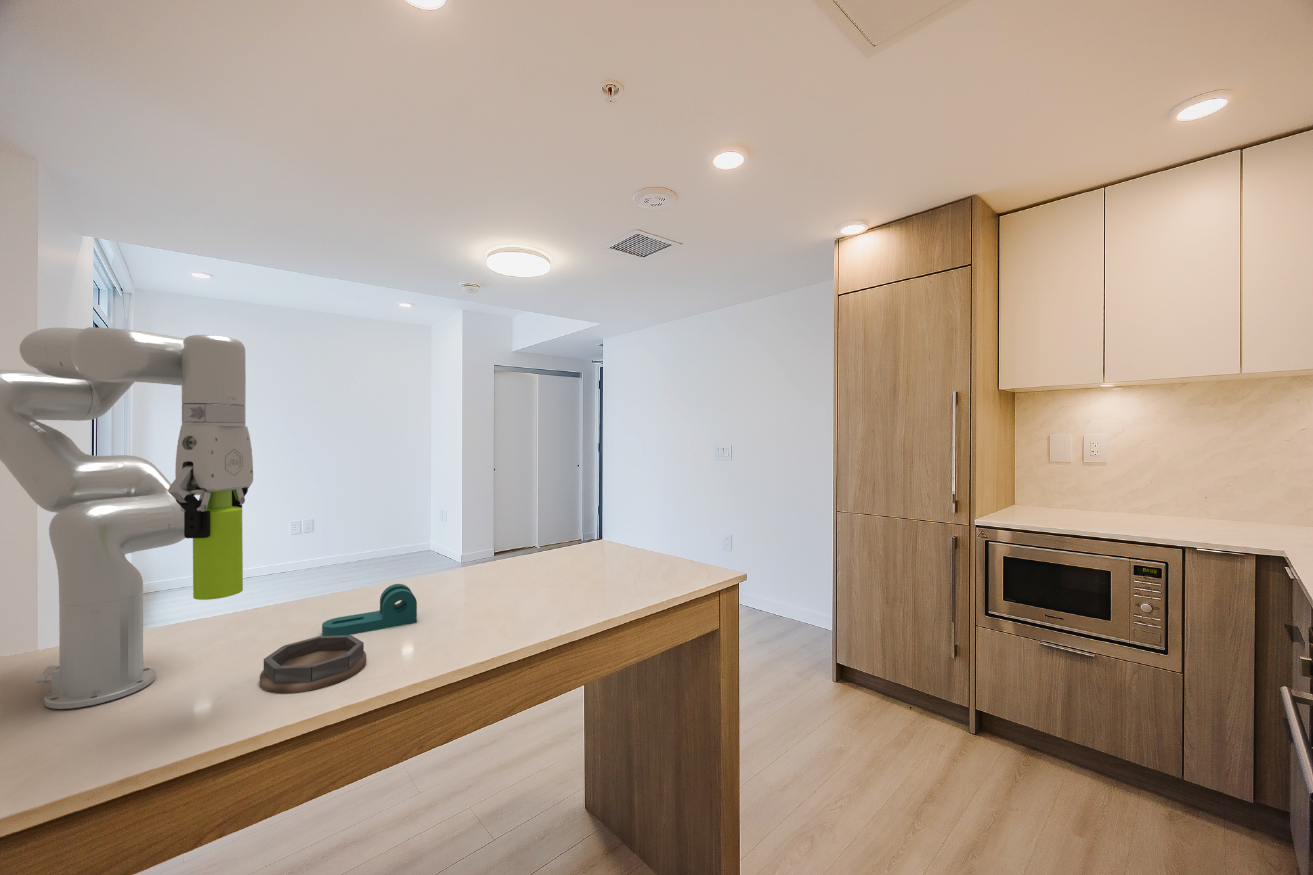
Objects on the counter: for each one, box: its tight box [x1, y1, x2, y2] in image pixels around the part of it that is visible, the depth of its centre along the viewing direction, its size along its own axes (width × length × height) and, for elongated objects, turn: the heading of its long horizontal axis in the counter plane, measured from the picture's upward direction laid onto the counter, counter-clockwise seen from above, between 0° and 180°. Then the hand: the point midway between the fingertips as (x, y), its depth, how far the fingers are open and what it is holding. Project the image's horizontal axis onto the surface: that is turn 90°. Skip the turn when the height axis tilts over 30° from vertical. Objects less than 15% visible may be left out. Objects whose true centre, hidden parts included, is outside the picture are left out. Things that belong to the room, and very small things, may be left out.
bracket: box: [321, 583, 418, 636], centre depth 116 cm, size 18×7×8 cm, turn 124°
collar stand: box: [259, 634, 367, 694], centre depth 94 cm, size 16×16×4 cm
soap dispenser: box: [192, 489, 244, 601], centre depth 80 cm, size 6×7×20 cm
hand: (214, 532), depth 80 cm, fingers closed on soap dispenser, 5 cm apart
